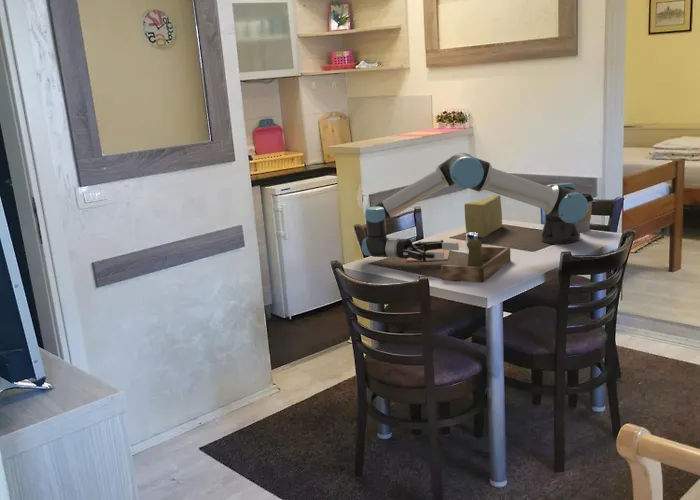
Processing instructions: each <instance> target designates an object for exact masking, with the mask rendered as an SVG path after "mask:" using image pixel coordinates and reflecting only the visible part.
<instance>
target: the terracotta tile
mask: <svg viewBox="0 0 700 500" xmlns="http://www.w3.org/2000/svg"><path fill="white" fill-rule="evenodd" d="M428 251H433V252H444V260H437V259H427V258H426V261H425V262H434V261H435V262H436V261H437V262H439V261H448V260H449V256H450V252H451V250H442V249H436V250H428ZM426 252H427V251H426ZM405 261H406V263H409V262H411V263H412V262H424V261H423V259H422V260H417V259H413V258H408V259H405Z"/></svg>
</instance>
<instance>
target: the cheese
mask: <svg viewBox="0 0 700 500" xmlns="http://www.w3.org/2000/svg"><path fill="white" fill-rule="evenodd" d="M464 220H465V221H464V222H465V232H466V233H468V232H476V233H478V235H479V237H478V238H483V239H484V238H486V237H488V235H490V234H492V233H493V232H495V231H497V230H499V229H501V228H503V212H502V202H501V195H500V194H498V195H497V194H494V195H491V196H489V197H486V198H483V199H481V200H477V201H470V202H467V203H465V204H464Z"/></svg>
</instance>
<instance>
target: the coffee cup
mask: <svg viewBox="0 0 700 500" xmlns="http://www.w3.org/2000/svg"><path fill="white" fill-rule="evenodd" d="M581 194H582V195H583V196H584V197H585V198H586V200H587V202H588V212H587V214H586V216H585V217H584V218H583V219H582V220H581V221H579V222H577V223H576V224H577V227H578V230H579V233H585V232H586V233H587V232H589V231H590V227H591V219H592V209H593V205H592V204H593V201H594V198H593V197H592V194H589V193H581Z"/></svg>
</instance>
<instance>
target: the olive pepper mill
mask: <svg viewBox="0 0 700 500" xmlns="http://www.w3.org/2000/svg"><path fill="white" fill-rule="evenodd" d="M482 246H483V244H482V241H481V239H480V240H479V239H469V240H468V241H467V243H466V247H467V249H468V255H467V256H468V257H467V266H471V267H481V266H482V265H484V260H482V255H481V247H482Z"/></svg>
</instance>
